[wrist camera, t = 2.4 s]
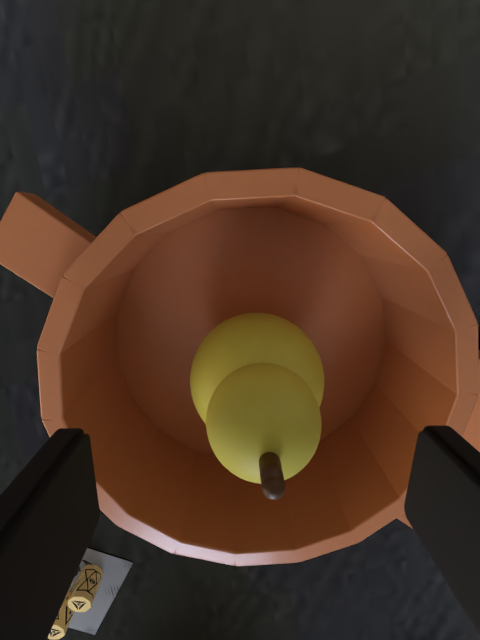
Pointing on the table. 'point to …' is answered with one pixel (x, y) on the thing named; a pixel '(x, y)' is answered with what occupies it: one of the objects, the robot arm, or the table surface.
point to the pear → (259, 397)
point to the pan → (228, 301)
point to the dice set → (90, 593)
